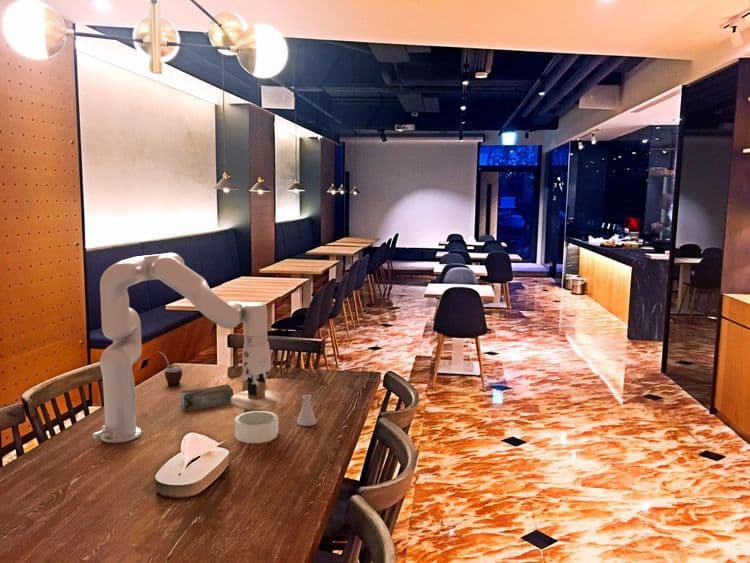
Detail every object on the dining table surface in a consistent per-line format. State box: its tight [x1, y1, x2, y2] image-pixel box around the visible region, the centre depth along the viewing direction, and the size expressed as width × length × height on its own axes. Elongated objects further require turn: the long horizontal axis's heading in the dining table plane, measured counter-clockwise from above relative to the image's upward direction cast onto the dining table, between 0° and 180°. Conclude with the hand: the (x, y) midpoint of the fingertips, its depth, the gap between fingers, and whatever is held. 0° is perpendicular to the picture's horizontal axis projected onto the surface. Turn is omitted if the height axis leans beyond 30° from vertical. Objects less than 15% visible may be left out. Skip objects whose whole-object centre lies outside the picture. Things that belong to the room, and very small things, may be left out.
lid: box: [230, 381, 283, 410], centre depth 208 cm, size 17×17×6 cm
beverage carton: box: [180, 384, 234, 412], centre depth 240 cm, size 8×19×7 cm, turn 117°
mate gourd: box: [158, 351, 183, 388], centre depth 262 cm, size 8×8×15 cm
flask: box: [296, 394, 317, 427], centre depth 221 cm, size 7×7×10 cm
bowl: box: [234, 410, 279, 444], centre depth 210 cm, size 14×14×6 cm
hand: (256, 392), depth 208 cm, fingers closed on lid, 4 cm apart
